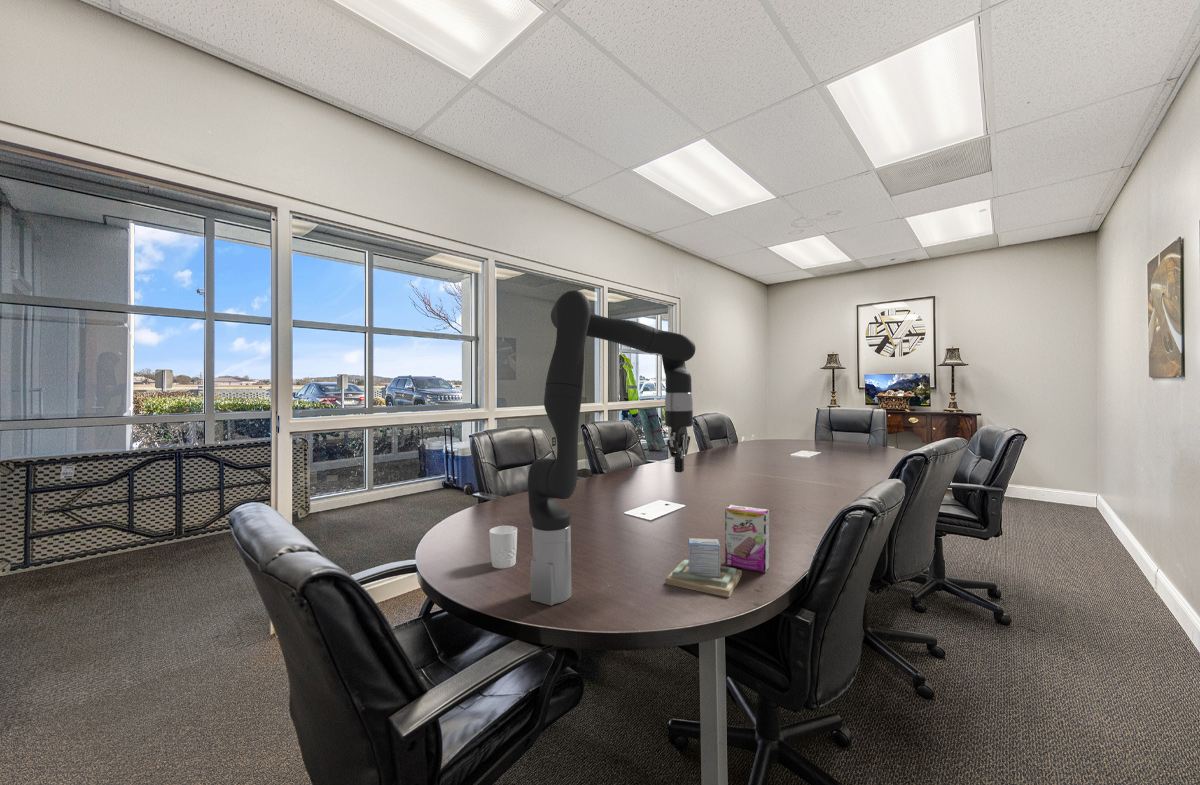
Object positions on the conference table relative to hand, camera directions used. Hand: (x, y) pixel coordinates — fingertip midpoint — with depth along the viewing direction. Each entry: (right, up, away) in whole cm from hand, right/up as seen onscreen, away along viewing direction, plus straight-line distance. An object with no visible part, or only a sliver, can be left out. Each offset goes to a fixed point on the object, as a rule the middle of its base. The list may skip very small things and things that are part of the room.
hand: (679, 471), depth 126 cm
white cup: (-50, -28, +5) cm, 57 cm away
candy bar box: (+19, -27, +1) cm, 33 cm away
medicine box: (+5, -26, -7) cm, 27 cm away
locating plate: (+5, -27, -7) cm, 28 cm away
